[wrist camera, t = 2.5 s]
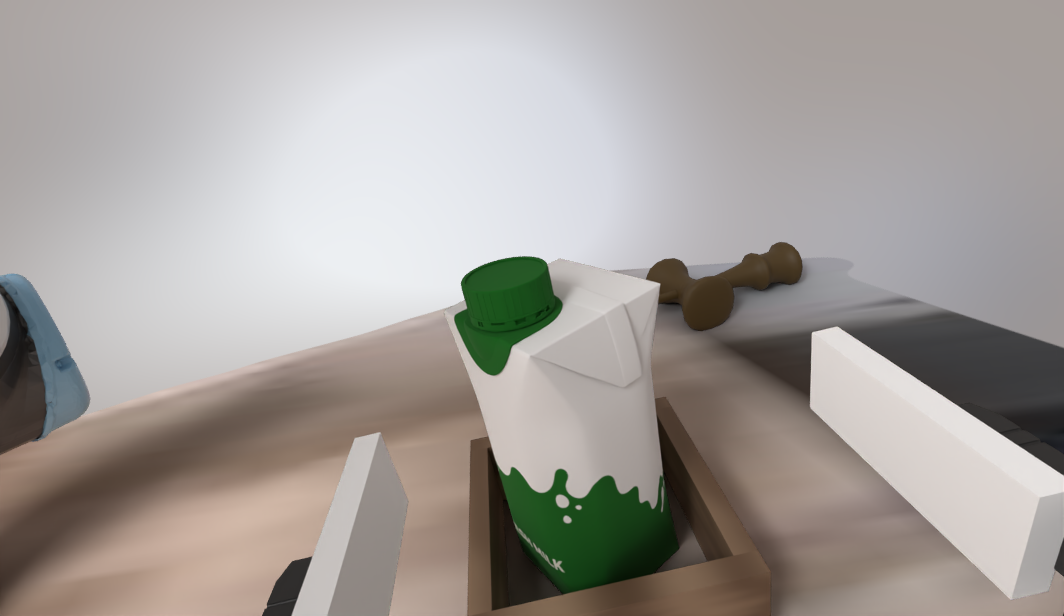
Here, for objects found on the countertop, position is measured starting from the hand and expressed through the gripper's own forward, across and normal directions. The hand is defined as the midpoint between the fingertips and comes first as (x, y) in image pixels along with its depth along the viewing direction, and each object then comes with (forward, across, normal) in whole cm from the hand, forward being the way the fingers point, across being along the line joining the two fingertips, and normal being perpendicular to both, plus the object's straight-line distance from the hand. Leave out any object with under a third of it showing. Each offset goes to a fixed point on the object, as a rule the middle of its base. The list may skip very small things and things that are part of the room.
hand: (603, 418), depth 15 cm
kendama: (+39, +20, -18) cm, 47 cm away
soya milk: (+10, 0, -18) cm, 21 cm away
